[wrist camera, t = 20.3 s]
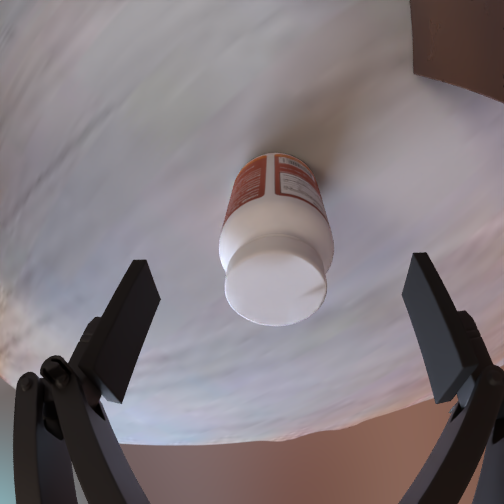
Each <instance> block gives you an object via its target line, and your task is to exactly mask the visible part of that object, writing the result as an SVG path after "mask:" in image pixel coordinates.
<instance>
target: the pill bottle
mask: <svg viewBox="0 0 504 504" xmlns="http://www.w3.org/2000/svg"><path fill="white" fill-rule="evenodd" d="M333 254H334V242H333V237H332V232H331V229H330V226H329V222H328V219H327V216H326V212H325V208H324V205H323V202H322V198H321V195H320V191H319V188H318V185H317V182H316V179H315V177H314V175H313V173H312V171H311V170H310V169H309V167H308V166H307V165H306V164H305V163H303V162H302V161H301V160H299V159H298V158H296V157H294V156H291V155H288V154H284V153H268V154H264V155H261V156H258V157H256V158H254V159H253V160H251V161H250V162H248V163H247V164H246V165H245V166H244V167H243V168H242V169H241V171H240V172H239V174H238V176H237V178H236V180H235V183H234V186H233V190H232V194H231V197H230V201H229V205H228V209H227V212H226V216H225V220H224V224H223V227H222V231H221V236H220V241H219V255H220V260H221V263H222V266H223V268H224V270H225V271H226V279H225V295H226V298H227V300H228V302H229V304H230V306H231V307H232V308H233V309H234V310H235V311H236V312H237V313H238V314H239V315H241V316H242V317H244V318H245V319H247V320H249V321H252V322H255V323H258V324H262V325H267V326H284V325H290V324H294V323H297V322H300V321H302V320H304V319H306V318H308V317H309V316H311V315H312V314H314V313H315V312H316V311H317V310H318V309H319V307H320V306H321V305H322V303H323V302H324V299H325V297H326V292H327V281H326V273H327V271H328V270H329V267H330V265H331V262H332V259H333Z"/></svg>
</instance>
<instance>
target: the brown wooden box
mask: <svg viewBox="0 0 504 504" xmlns="http://www.w3.org/2000/svg"><path fill="white" fill-rule="evenodd" d="M410 8H411V20H412V36H413V73H414V74H415V75H419V76H423V77H427V78H431V79H434V80H438V81H441V82H445V83H448V84H451V85H455V86H458V87H461V88H464V89H467V90H470V91H473V92H476V93H478V94H481V95H484V96H486V97H489V98H492V99H494V100H497V101H499V102H502V103H504V0H410Z"/></svg>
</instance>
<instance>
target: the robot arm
mask: <svg viewBox="0 0 504 504" xmlns="http://www.w3.org/2000/svg"><path fill="white" fill-rule="evenodd" d="M402 297H403V300H404V302H405V305H406V308H407V311H408V313H409V316H410V319H411V322H412V325H413V328H414V331H415V334H416V337H417V340H418V343H419V346H420V349H421V353H422V356H423V359H424V363H425V366H426V369H427V373H428V376H429V380H430V384H431V387H432V391H433V395H434V399H435V403H436V404H439V403H443V402H448V401H451V400H452V399H453V398H454V396H455V395H456V394H457V396H458V400H459V401H458V402H457V403H456V404H455V405H454V406H453V408H452V409H451V410H450V412H449V413H451V412H452V411H453V412H452V414H451V416H450V418H449V420H448V422H447V424H446V426H445V428H444V430H443V432H442V434H441V436H440V438H439V440H438V441H437V443H436V445H435V447H434V449H433V450H432V452H431V454H430V456H429V458H428V459H427V461H426V463H425V464H424V466H423V468H422V469H421V471H420V472H419V474H418V475H417V477H416V479H415V480H414V482H413V483H412V485H411V486H410V488H409V489H408V491H407V492H406V493H405V495H404V496H403V498H402V499H401V501H400V502H399V503H398V504H458V502H459V500H460V499H461V497H462V495H463V493H464V491H465V489H466V488H467V486H468V484H469V482H470V480H471V478H472V476H473V474H474V472H475V469H476V467H477V465H478V463H479V461H480V459H481V456H482V454H483V452H484V449H485V447H486V450H485V455H484V460H483V464H482V469H481V473H480V477H479V481H478V485H477V488H476V492H475V496H474V499H473V502H472V504H504V371H503V370H502V369H501V368H500V367H499V366H496V365H493V363H492V360H491V358H490V356H489V353H488V351H487V348H486V346H485V344H484V342H483V339H482V337H481V335H480V333H479V330H477V326H476V324H475V322H474V320H473V318H472V317H471V316H470V315H469V314H468V313H467V312H466V311H457V310H456V308H455V306H454V304H453V302H452V300H451V298H450V296H449V294H448V292H447V290H446V288H445V286H444V284H443V282H442V280H441V278H440V276H439V274H438V272H437V271H436V269H435V267H434V265H433V263H432V262H431V260H430V258H429V256H428V254H427V253H426V252H424V253H413V255H412V259H411V263H410V267H409V270H408V274H407V278H406V281H405V285H404V289H403V292H402ZM160 300H161V299H160V296H159V294H158V291H157V288H156V286H155V283H154V280H153V277H152V275H151V272H150V269H149V266H148V263H147V260H133V261H132V263H131V265H130V267H129V268H128V270H127V272H126V273H125V275H124V277H123V279H122V280H121V282H120V284H119V286H118V288H117V289H116V291H115V293H114V295H113V297H112V298H111V300H110V302H109V304H108V306H107V308H106V310H105V312H104V313H103V315H102V317H95V318H94V319H93V320H92V321H91V322H90V323H89V324H88V325H87V327H86V329H85V331H84V333H83V335H82V337H81V339H80V342H78V344H77V346H76V348H75V350H74V352H73V354H72V356H71V358H70V361H69V363H67V362H66V361H65V360H64V358H62V357H61V356H57V355H55V356H51V357H49V358H48V359H46V360H45V362H44V363H43V364H42V366H41V369H40V374H41V375H42V377H43V378H39V377H38V376H37V375H36V374H35V373H33V372H27V373H25V374H23V375H22V376H21V377H20V379H19V380H18V383H17V387H16V398H15V412H14V431H13V432H14V433H13V460H14V461H13V462H14V482H15V494H16V504H78V502H77V497H76V491H75V485H74V479H73V471H72V463H73V466H74V469H75V472H76V474H77V477H78V480H79V482H80V485H81V487H82V490H83V492H84V494H85V497H86V499H87V501H88V504H150V502H149V501H148V499H147V497H146V495H145V494H144V492H143V490H142V488H141V486H140V485H139V483H138V481H137V479H136V477H135V475H134V473H133V472H132V470H131V468H130V466H129V464H128V462H127V460H126V458H125V456H124V454H123V451H122V449H121V447H120V445H119V443H118V441H117V438H116V436H115V434H114V432H113V429H112V427H111V425H110V422H109V420H108V418H107V415H106V413H105V410H104V408H103V405H102V403H101V402H100V397H101V395H103V396H104V398H105V399H106V400H107V401H111V402H115V403H120V404H122V402H123V399H124V396H125V393H126V390H127V387H128V384H129V381H130V379H131V376H132V373H133V370H134V367H135V365H136V362H137V359H138V356H139V354H140V351H141V348H142V346H143V343H144V340H145V338H146V335H147V333H148V330H149V327H150V325H151V322H152V320H153V317H154V315H155V312H156V310H157V307H158V305H159V302H160ZM486 444H487V445H486ZM71 461H72V463H71Z"/></svg>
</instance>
